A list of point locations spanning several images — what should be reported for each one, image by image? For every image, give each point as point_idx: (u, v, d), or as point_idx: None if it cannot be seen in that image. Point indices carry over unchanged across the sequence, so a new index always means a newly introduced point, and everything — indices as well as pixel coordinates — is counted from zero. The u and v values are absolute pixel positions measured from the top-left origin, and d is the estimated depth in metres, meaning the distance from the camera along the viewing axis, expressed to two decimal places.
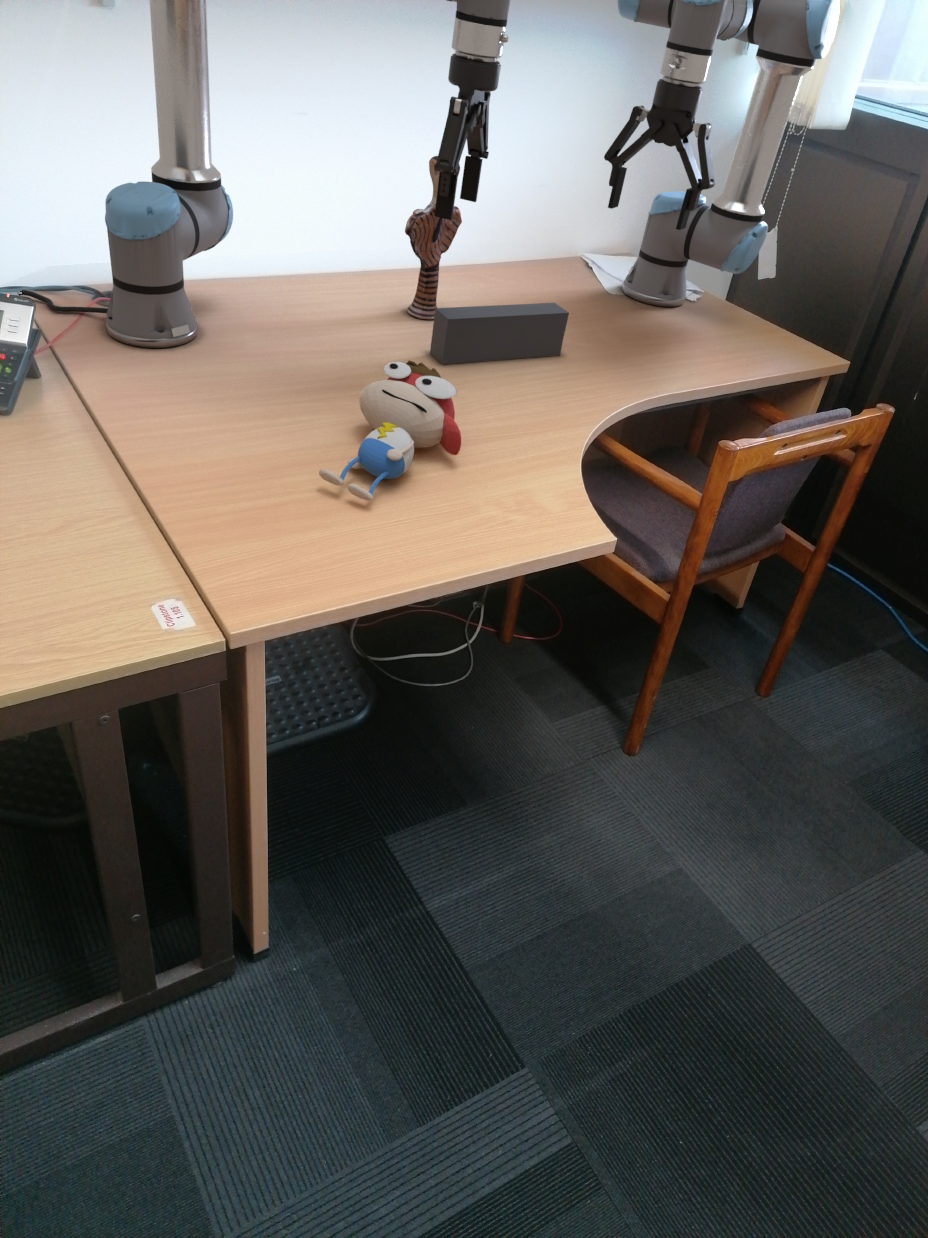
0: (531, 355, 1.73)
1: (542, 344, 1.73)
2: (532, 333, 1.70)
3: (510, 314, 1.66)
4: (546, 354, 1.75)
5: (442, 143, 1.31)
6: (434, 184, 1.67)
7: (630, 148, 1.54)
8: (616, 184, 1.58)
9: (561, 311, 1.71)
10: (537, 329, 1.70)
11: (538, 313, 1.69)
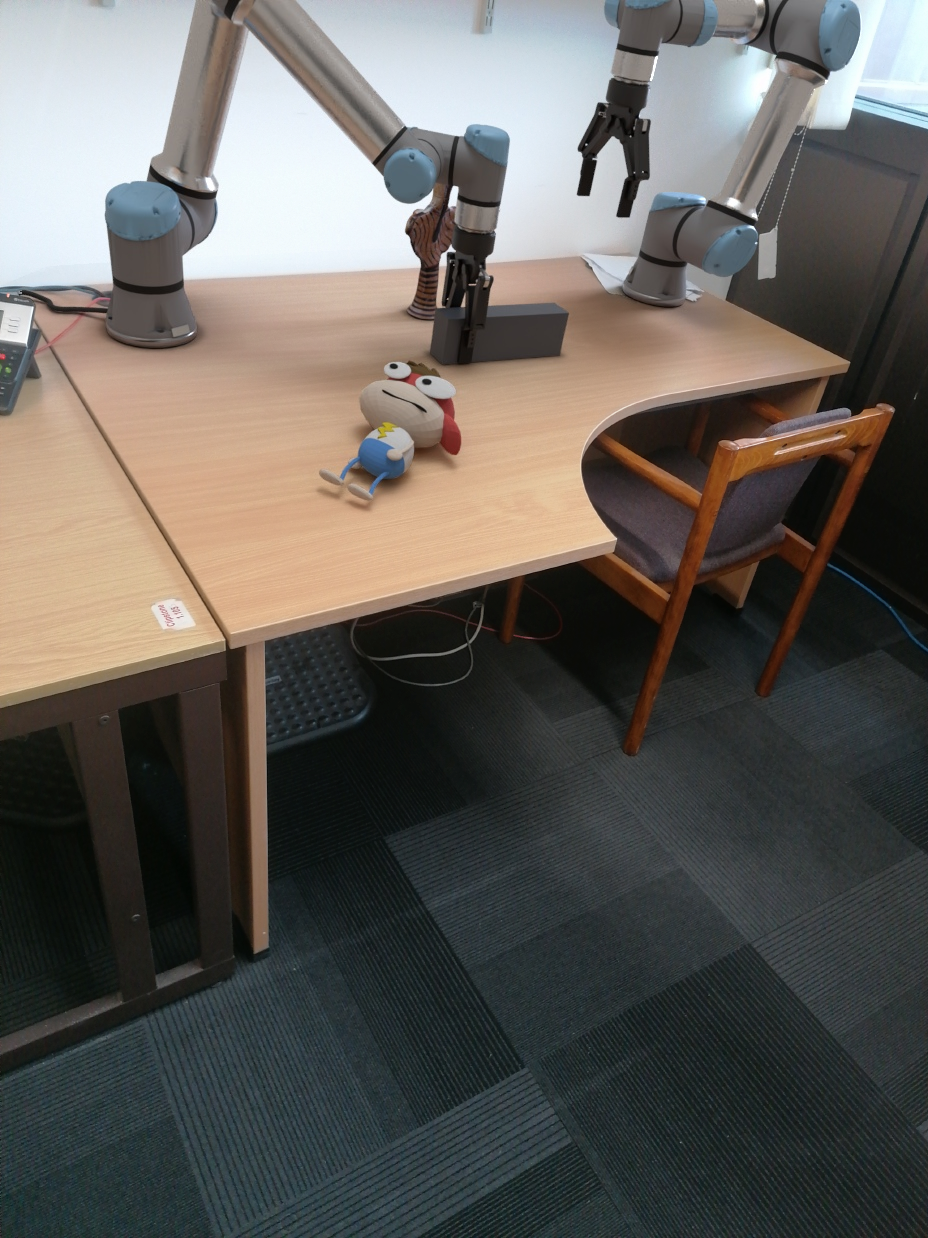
0: (531, 355, 1.73)
1: (542, 344, 1.73)
2: (532, 333, 1.70)
3: (510, 314, 1.66)
4: (546, 354, 1.75)
5: (476, 312, 1.57)
6: None
7: None
8: None
9: (561, 311, 1.71)
10: (537, 329, 1.70)
11: (538, 313, 1.69)
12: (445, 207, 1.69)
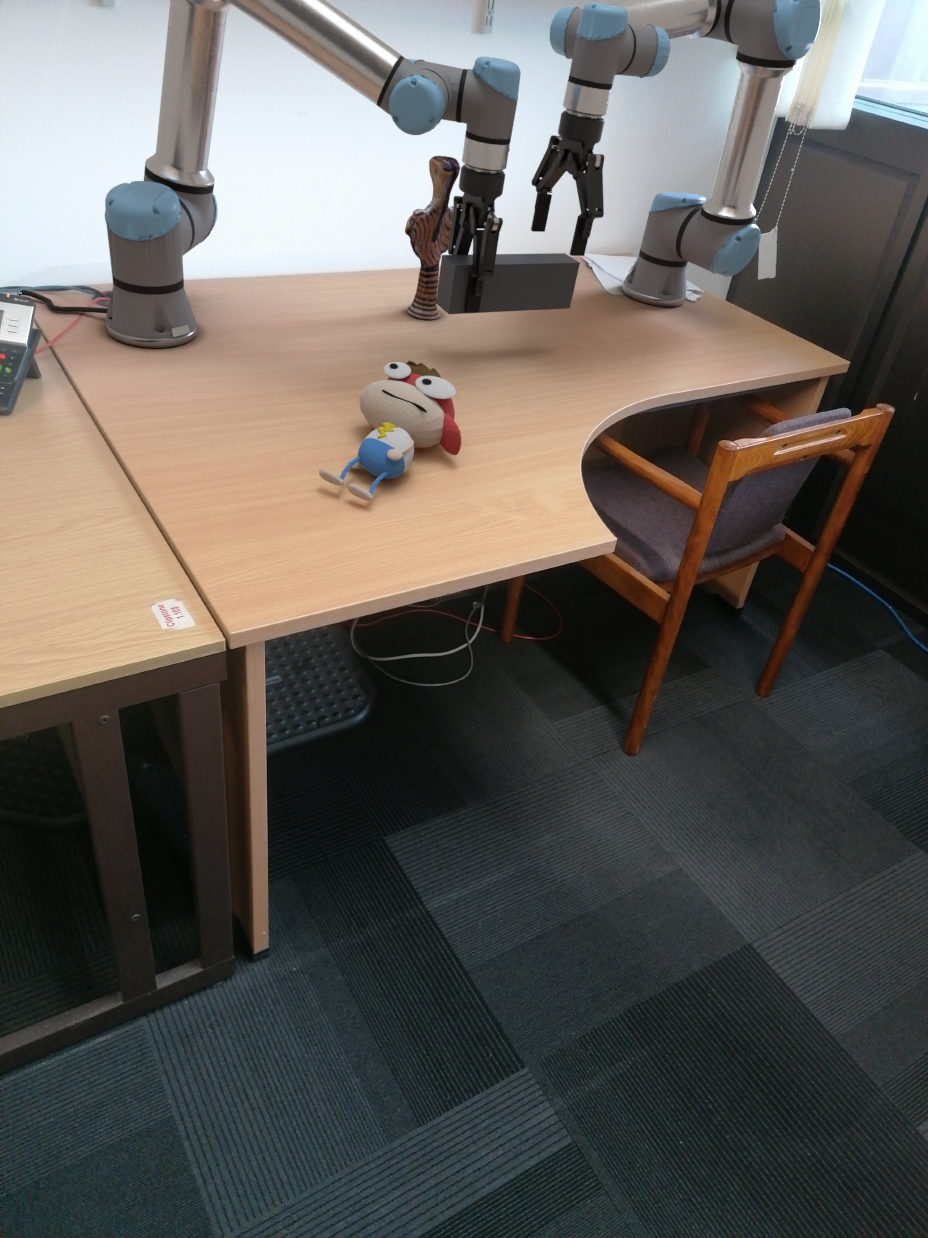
0: (540, 307, 1.67)
1: (552, 295, 1.67)
2: (542, 283, 1.64)
3: (519, 262, 1.60)
4: (556, 307, 1.69)
5: (484, 257, 1.51)
6: (434, 184, 1.67)
7: None
8: None
9: (572, 261, 1.65)
10: (546, 279, 1.64)
11: (548, 262, 1.63)
12: (445, 207, 1.69)
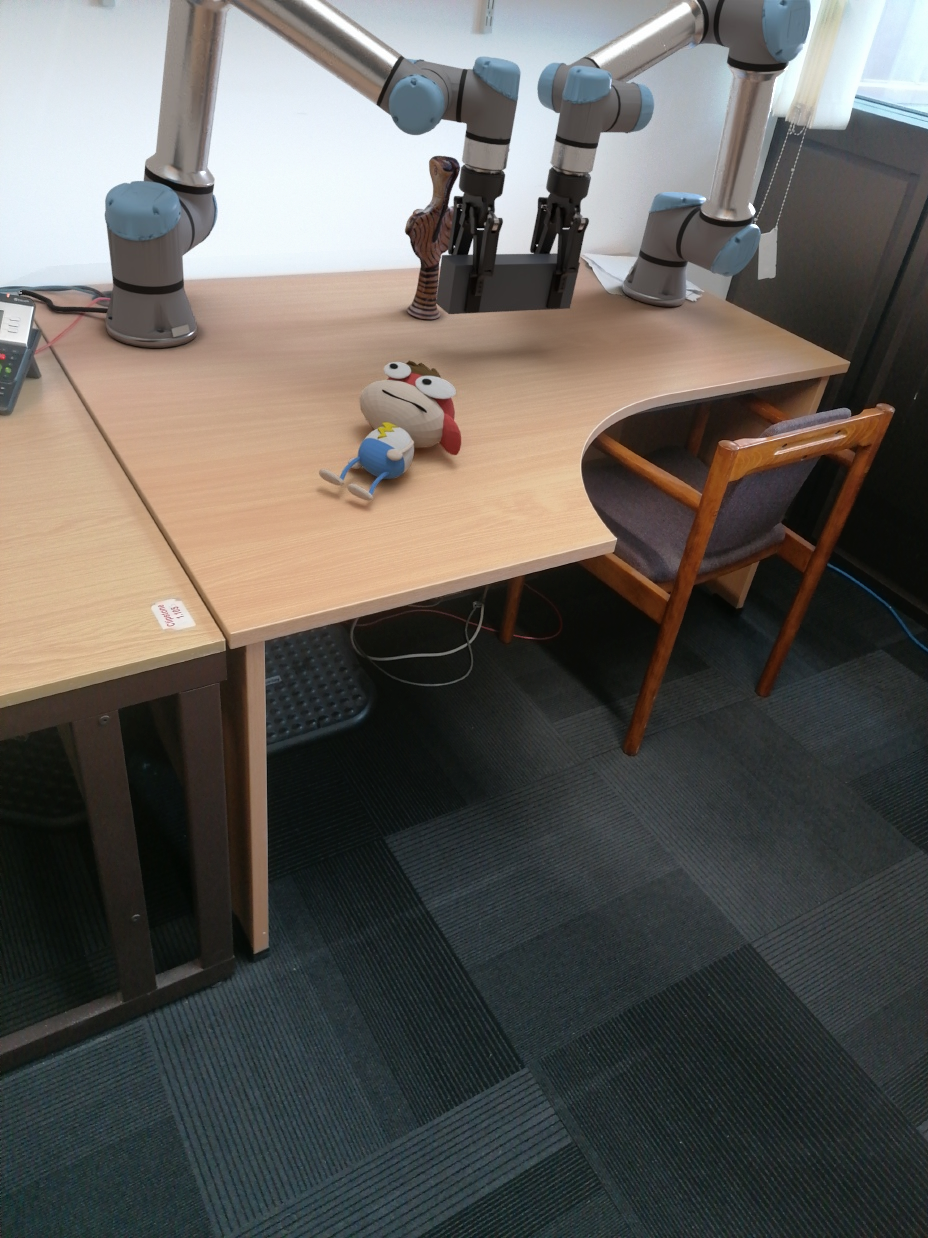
0: (540, 307, 1.67)
1: None
2: (542, 283, 1.64)
3: (519, 262, 1.60)
4: None
5: (484, 257, 1.51)
6: (434, 184, 1.67)
7: None
8: None
9: None
10: (547, 279, 1.64)
11: (548, 262, 1.63)
12: (445, 207, 1.69)
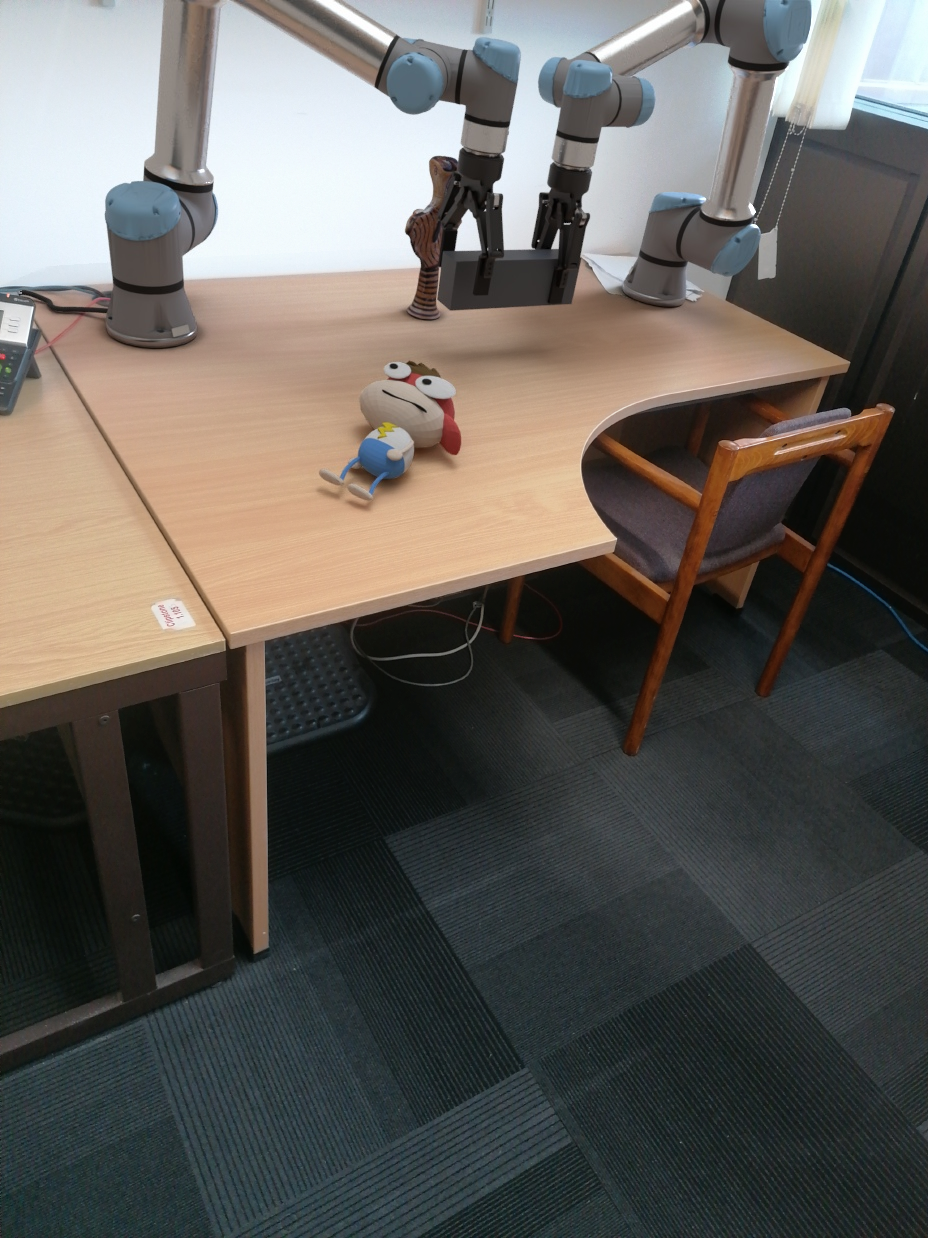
0: (542, 303, 1.67)
1: None
2: (543, 279, 1.64)
3: (520, 258, 1.59)
4: None
5: (492, 235, 1.47)
6: (434, 184, 1.67)
7: None
8: None
9: None
10: (548, 275, 1.64)
11: (549, 258, 1.62)
12: None
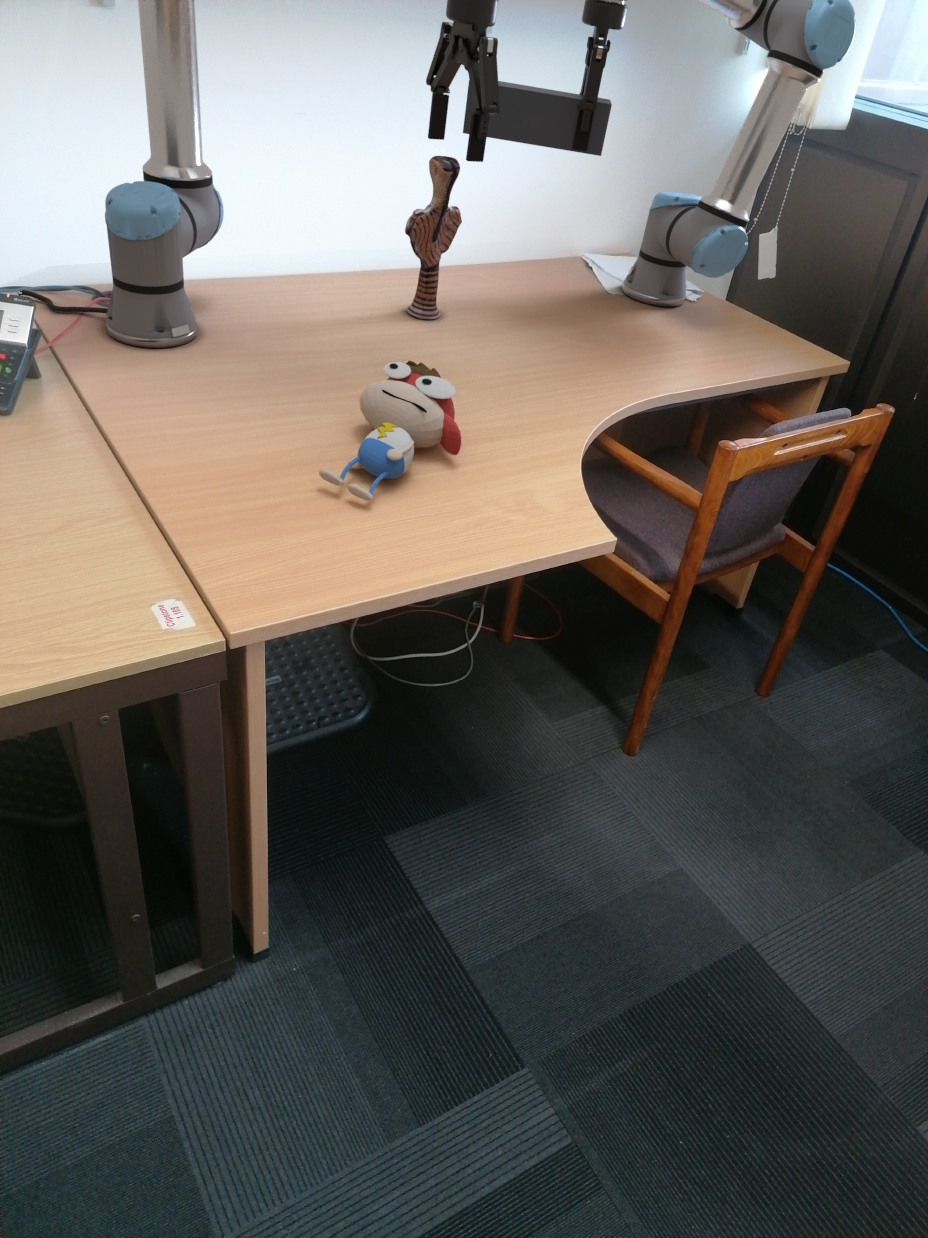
0: (565, 147, 1.67)
1: None
2: (566, 119, 1.65)
3: (541, 91, 1.62)
4: (584, 151, 1.68)
5: (486, 86, 1.31)
6: (434, 184, 1.67)
7: None
8: (590, 126, 1.65)
9: (603, 102, 1.63)
10: (572, 116, 1.64)
11: (575, 97, 1.63)
12: (445, 207, 1.69)
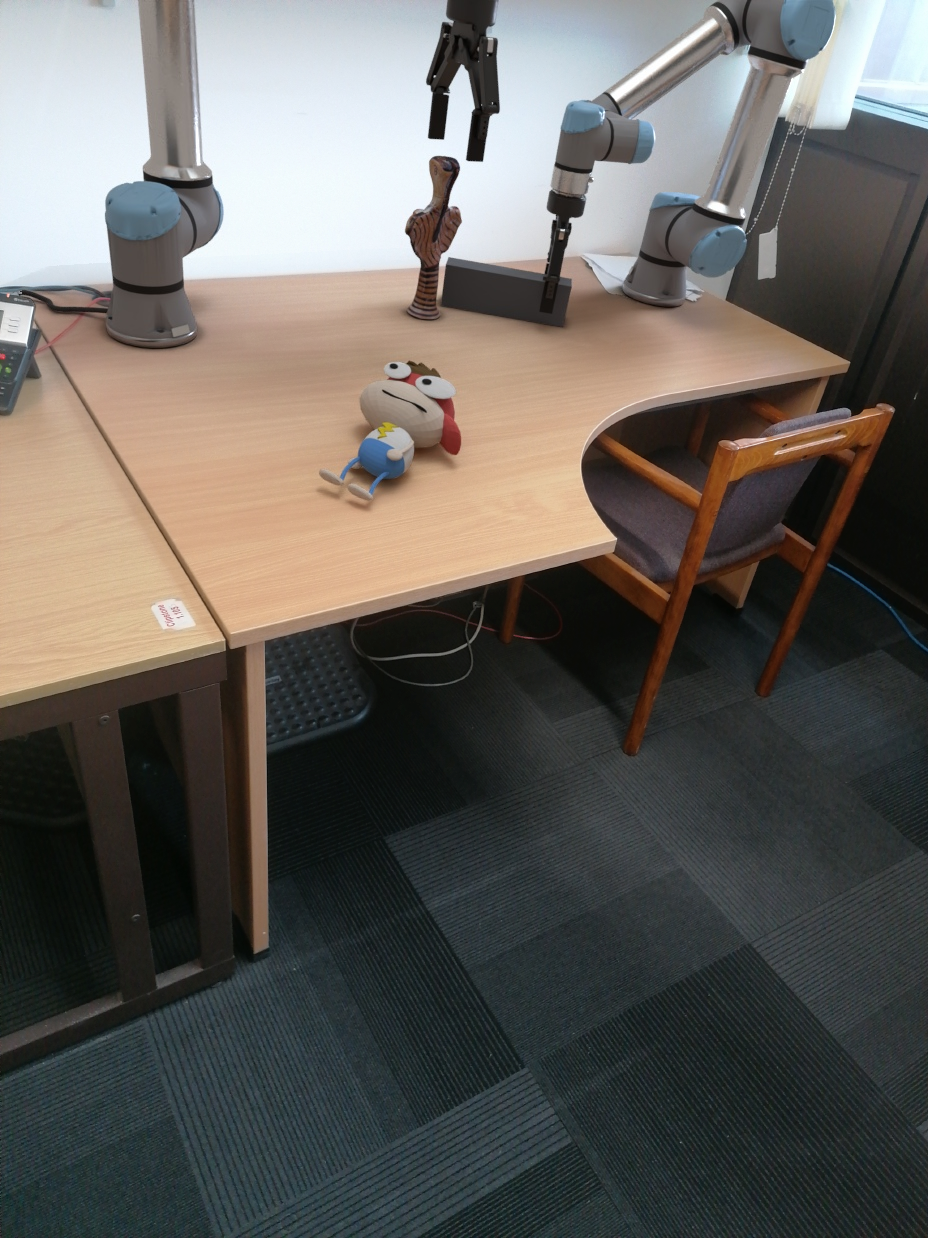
0: (531, 319, 1.89)
1: None
2: (532, 297, 1.86)
3: (509, 274, 1.84)
4: (548, 323, 1.89)
5: (486, 86, 1.31)
6: (434, 184, 1.67)
7: None
8: (555, 293, 1.83)
9: (564, 284, 1.84)
10: (537, 295, 1.86)
11: (539, 280, 1.84)
12: (445, 207, 1.69)
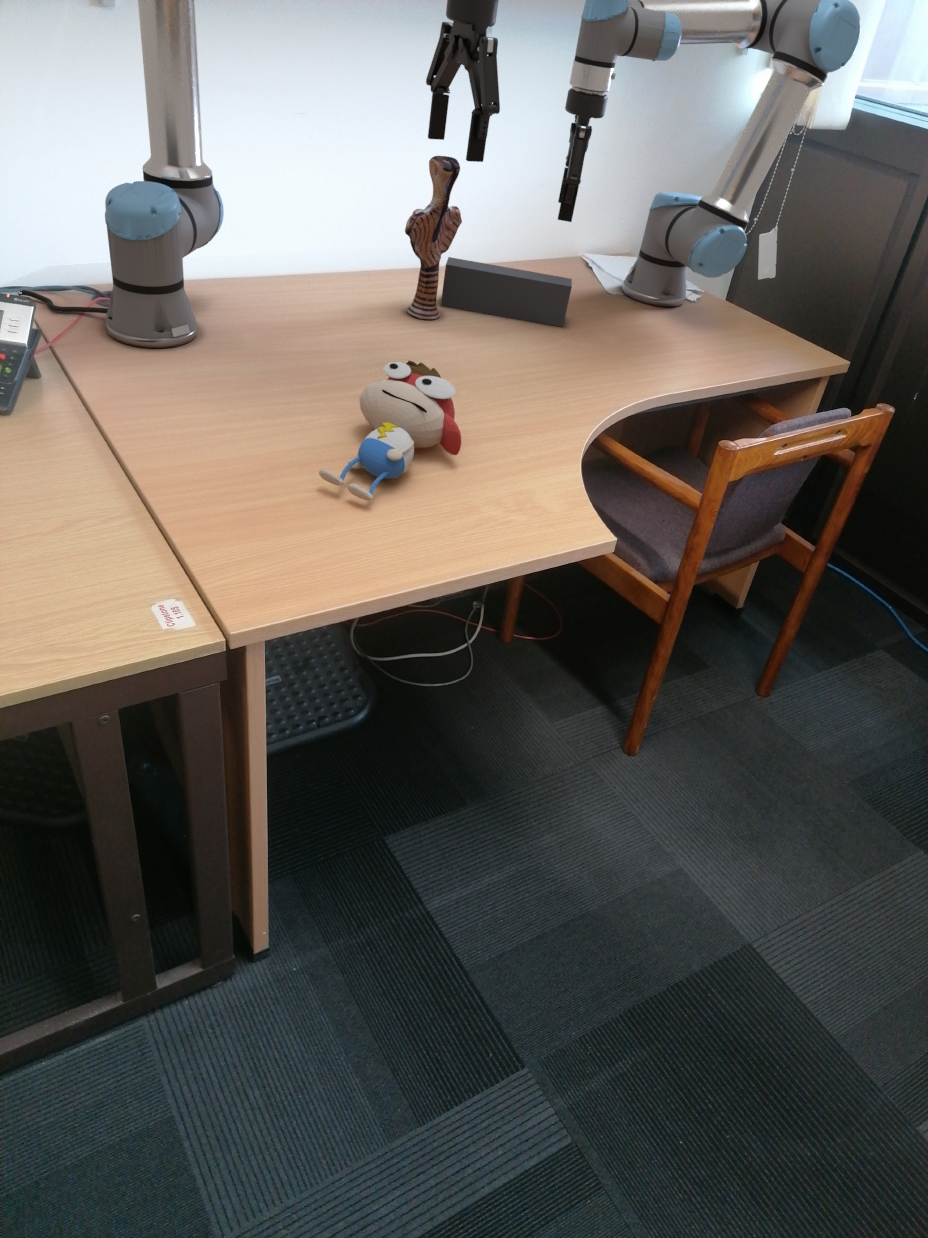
0: (531, 319, 1.89)
1: (543, 311, 1.88)
2: (532, 297, 1.86)
3: (509, 274, 1.84)
4: (548, 323, 1.89)
5: (486, 86, 1.31)
6: (434, 184, 1.67)
7: None
8: (575, 199, 1.70)
9: (564, 284, 1.84)
10: (537, 295, 1.86)
11: (539, 280, 1.84)
12: (445, 207, 1.69)
